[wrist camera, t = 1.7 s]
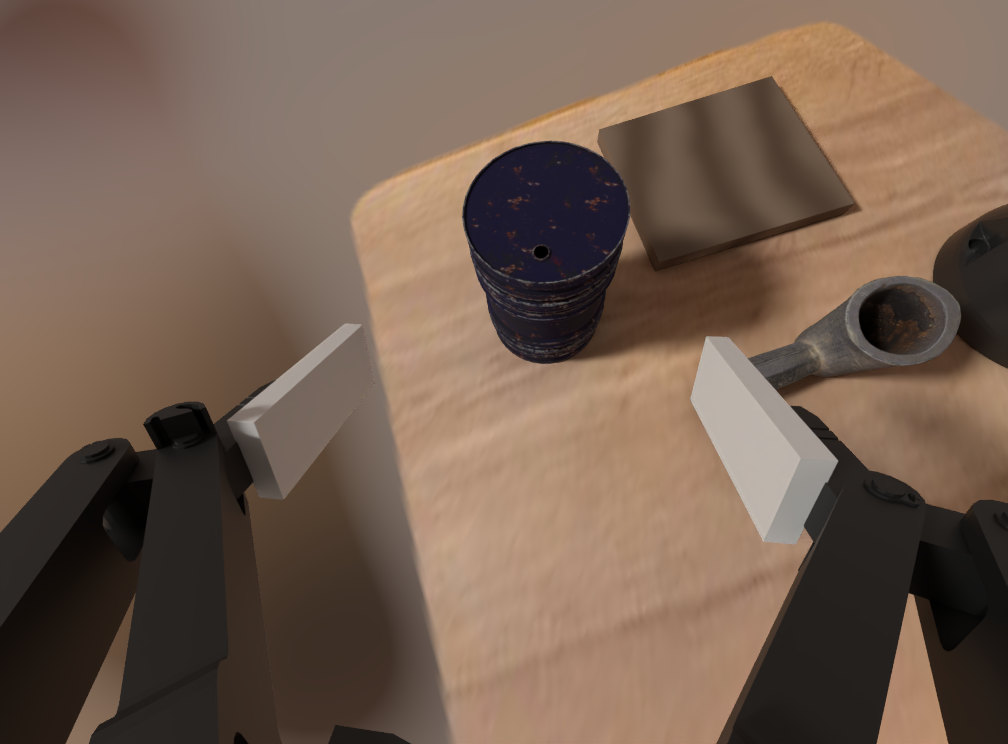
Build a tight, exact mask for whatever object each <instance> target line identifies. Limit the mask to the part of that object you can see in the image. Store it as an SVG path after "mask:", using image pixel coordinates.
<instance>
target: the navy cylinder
mask: <svg viewBox="0 0 1008 744" xmlns="http://www.w3.org/2000/svg"><path fill="white" fill-rule="evenodd" d="M629 217H630V199H629V195H628V191H627V187H626V185H625V183H624V181H623V179H622V177H621V176H620V174H619V173H618V172H617V170H616V169H615V168H614V167H613V166H612V165H611V164H610V163H609V162H608V161H607V160H606V159H605V158H603V157H602V156H600V155H599V154H597V153H596V152H594V151H592V150H590V149H588V148H585V147H582V146H579V145H576V144H573V143H567V142H562V141H540V142H533V143H528V144H524V145H521V146H518V147H515V148H512V149H510V150H508V151H506V152H504V153H502V154H501V155H499V156H498V157H496V158H494V159H493V160H492V161H490V162H489V163H488V164H487V165H486V166H485V167H484V168H483V169H482V170H481V171H480V172H479V173H478V175H477V176H476V177H475V179H474V180H473V182H472V183H471V185H470V187H469V189H468V192H467V194H466V196H465V201H464V205H463V216H462V219H463V226H464V231H465V234H466V237H467V240H468V243H469V248H470V255H471V258H472V261H473V264H474V267H475V270H476V274H477V277H478V280H479V282H480V284H481V286H482V288H483V290H484V291H485V292H486V298H487V303H488V310H489V313H490V317H491V320H492V323H493V325H494V327H495V329H496V331H497V334H498V336H499V338H500V340H501V341H502V343H503V344H504V345H505V347H506V348H507V349H508V350H510V351H511V352H512V353H513V354H515V355H516V356H518V357H520V358H522V359H524V360H526V361H530V362H533V363H540V364H551V363H557V362H561V361H564V360H567V359H569V358H571V357H573V356H574V355H576V354H577V353H579V352H580V351H581V350H582V349H583V348H584V347H585V346H586V345H587V344H588V342H589V341H590V340H591V338H592V336H593V334H594V332H595V329H596V327H597V325H598V323H599V321H600V317H601V314H602V311H603V307H604V300H605V294H606V289H607V288H608V286H609V285H610V283H611V281H612V279H613V277H614V274H615V270H616V267H617V264H618V261H619V257H620V254H621V251H622V246H623V239H624V236H625V233H626V230H627V226H628V223H629Z"/></svg>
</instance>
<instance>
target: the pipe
mask: <svg viewBox="0 0 1008 744" xmlns="http://www.w3.org/2000/svg"><path fill="white" fill-rule="evenodd" d="M960 320H961V312H960V305H959V304H958V301H956V299H955V298H954V297H953V295H951V294H950V293H949V292H948V291H947V290H946V289H944V288H942V287H940V286H939V285H937V284H935V283H933V282H930V281H927V280H925V279H922V278H918V277H909V276H895V277H888V278H880V279H876V280H873V281H871V282H869V283H867V284H865V285H863V286H862V287H860V288H859V289H857V291H856V292H855V293H854V294H853V295H852V296H851V297H850V298H849V299H848V300H846V301H845V302H844V303H842V304H841V305H840V306H838V307H837V308H836V309H835V310H833V311H832V312H830V313H829V314H828V315H826V316H825V317H824V318H822V319H821V320H820V321H818V322H817V323H815V324H814V325H812V326H810V327H809V328H807V329H806V330H804V331H803V332H802V333H801V334H800V335H799V336H798V337H797V338H796V340H795V342H794V343H793V344H790V345H787V346H784V347H781V348H778V349H775V350H772V351H769V352H766V353H763V354H760V355H757V356H754V357H751V358H748V360H749V361H750V362H751V363H752V364H753V365H754V366H755V367H756V369H757V370H758V371H759V372H760V373H761V374H762V375H763V376H764V378H765V379H766V380H767V381H768V382H769V383H770V384H771V385H772V387H773V388H774V389H775V390H776V389H779V388H781V387H783V386H786V385H789V384H791V383H793V382H796V381H798V380H800V379H802V378H804V377H806V376H808V375H810V374H811V375H814V376H820V377H832V376H837V375H843V374H849V373H855V372H861V371H867V370H874V369H881V368H889V367H897V366H910V365H915V364H920V363H923V362H926V361H929V360H931V359H933V358H935V357H937V356H939V355H940V354H941V353H942V352H943V351H944V350H945V349H946V348H947V347H948V346H949V345H950V344H951V343H952V341H953V339H954V337H955V335H956V333H957V331H958V327H959V324H960Z"/></svg>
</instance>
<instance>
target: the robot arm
mask: <svg viewBox="0 0 1008 744" xmlns="http://www.w3.org/2000/svg"><path fill="white" fill-rule="evenodd" d="M933 283H935V284H937V285H939V286H940V287H942V288H944V289H946V290H947V291H948V292H949V293H950V294H951V295H953V297H954V298H955V299H956V301H958V304H959V305H960V312H961V320H960V324H959V327H958V331H957V333H958V334H959V335H960V336H961V337H962V338H963V339H964V340H965V341H966V342H967V343H968V344H970V345H971V346H972V347H973V348H974V349H976V350H977V351H978V352H980V353H981V354H983V355H984V356H986V357H987V358H989V359H991V360H992V361H994V362H996V363H998V364H1000V365H1002V366H1004V367H1006V368H1008V204H1006V205H1003V206H1001V207H998V208H996V209H994V210H992V211H990V212H988V213H986V214H984V215H982V216H981V217H979V218H977V219H976V220H974V221H973V222H971V223H969V224H968V225H966V226H965V227H963V228H961V229H960V230H958V231H957V232H955V233H954V234H953V235H952V236H951V237H950V238H949V239H948V240H947V241H946V242H945V243H944V245H943V246H942V248H941V249H940V251H939V253H938V255H937V258H936V261H935V264H934V270H933ZM374 384H375V383H374V377H373V373H372V367H371V362H370V357H369V352H368V347H367V342H366V337H365V332H364V327H363V324H344V325H343V326H342V327H340V328H339V329H338V330H337V331H335V332H334V333H333V334H332V335H331V336H329V337H328V338H327V339H326V340H325V341H323V342H322V343H321V344H320V345H318V346H317V347H316V348H315V349H314V350H312V351H311V352H310V353H309V354H307V355H306V356H305V357H304V358H303V359H301V360H300V361H299V362H298V363H296V364H295V365H294V366H293V367H292V368H291V369H289V370H288V371H287V372H285V373H284V374H283V375H282V376H281V377H279V378H278V379H277V380H274V381H272V382H270V383H268V384H266V385H264V386H262V387H260V388H258V389H257V390H256V391H255V392H253V393H252V394H251V395H250V396H249V398H246V399H245V400H243V401H242V402H241V403H240V405H239V406H236V407H235V408H233V409H232V410H231V411H230V412H228V413H227V414H226V415H225V416H223V417H222V418H221V419H220V420H219V421H217V422H216V423H215V424H213V422H212V420H211V419H210V416H209V413H208V411H207V409H206V407H205V405H204V404H203V403H200V402H184V403H179V404H175V405H172V406H169V407H166V408H164V409H162V410H159V411H158V412H155V413H154V414H153V415H151V416H150V417H149V418H147V419H146V421H145V422H144V424H143V425H144V427H145V428H146V430H147V432H148V434H149V436H150V437H151V439H152V441H153V443H154V445H155V446H156V448H157V449H154V450H147V451H140V452H135V451H134V449H133V447H132V446H131V444H130V442H129V441H128V440H127V439H123V438H113V439H107V440H103V441H97V442H94V443H92V444H89V445H86V446H84V447H83V448H82V449H80V450H79V451H76V452H75V453H73V454H72V455H70V456H69V457H68V458H67V459H66V460H65V461H64V462H63V463H62V464H61V465H60V466H59V467H58V469H57V470H56V471H55V472H54V473H53V474H52V475H51V476H50V478H49V479H48V480H47V481H46V482H45V483H44V484H43V485H42V487H41V488H40V489H39V490H38V491H37V492H36V493H35V494H34V496H33V497H32V498H31V499H30V500H29V501H28V502H27V503H26V505H25V506H24V507H23V508H22V509H21V510H20V511H19V512H18V514H17V515H16V516H15V517H14V518H13V519H12V520H11V521H10V523H9V524H8V525H7V526H6V527H5V528H4V529H3V530H2V532H1V533H0V744H65V743H66V741H67V739H68V737H69V735H70V733H71V731H72V729H73V726H74V724H75V722H76V720H77V718H78V716H79V713H80V711H81V709H82V707H83V705H84V703H85V700H86V698H87V696H88V694H89V692H90V689H91V688H92V685H93V683H94V681H95V678H96V677H97V675H98V672H99V670H100V668H101V666H102V664H103V662H104V659H105V657H106V655H107V653H108V651H109V649H110V646H111V644H112V642H113V640H114V638H115V636H116V633H117V631H118V629H119V627H120V625H121V623H122V621H123V618H124V616H125V614H126V612H127V610H128V608H129V606H130V603H131V601H132V599H133V597H134V594H135V593H136V596H135V602H134V609H133V616H132V622H131V629H130V635H129V642H128V649H127V656H126V662H125V668H124V675H123V683H122V689H121V695H120V701H119V706H118V710H117V714H116V715H115V717H113V718H111V719H109V720H107V721H105V722H104V723H102V724H100V725H99V726H98V727H97V728H96V730H95V731H94V733H93V734H92V736H91V739H90V742H89V744H282V743H281V740H280V736H279V731H278V725H277V719H276V711H275V703H274V696H273V689H272V680H271V672H270V666H269V658H268V650H267V642H266V634H265V627H264V619H263V611H262V604H261V596H260V589H259V581H258V573H257V566H256V559H255V550H254V543H253V535H252V528H251V520H250V512H249V505H248V500H247V498H246V495H245V493H244V492H245V490H246V489H247V488H248V487H249V486H250V485H251V484H252V483H254V486H255V488H256V490H257V493H258V495H259V497H262V498H274V499H284V498H285V497H286V496H287V495H288V494H289V492H290V491H291V490H292V488H293V487H294V486H295V485H296V483H297V482H298V481H299V479H300V478H301V477H302V476H303V474H304V473H305V472H306V470H307V469H308V468H309V467H310V465H311V464H312V463H313V462H314V460H315V459H316V458H317V456H318V455H319V454H320V453H321V451H322V450H323V449H324V448H325V446H326V445H327V444H328V442H329V441H330V440H331V439H332V437H333V436H334V435H335V433H336V432H337V431H338V430H339V428H340V427H341V426H342V425H343V423H344V422H345V421H346V419H347V418H348V417H349V415H350V414H351V413H352V412H353V411H354V409H355V408H356V407H357V405H358V404H359V403H360V402H361V400H362V399H363V398H364V396H365V395H366V394H367V393H368V391H369V390H370V389H371V388H372V386H373V385H374ZM690 400H691V402H692V404H693V406H694V408H695V410H696V412H697V414H698V416H699V418H700V420H701V421H702V423H703V425H704V427H705V429H706V431H707V433H708V435H709V437H710V439H711V441H712V443H713V445H714V447H715V449H716V451H717V452H718V454H719V456H720V458H721V460H722V462H723V464H724V466H725V468H726V470H727V472H728V474H729V476H730V478H731V480H732V481H733V483H734V485H735V487H736V489H737V491H738V493H739V495H740V497H741V499H742V501H743V503H744V505H745V507H746V509H747V510H748V512H749V514H750V516H751V518H752V520H753V522H754V524H755V526H756V528H757V530H758V532H759V534H760V536H761V538H762V540H763V541H764V542H774V543H786V544H796V543H797V541H798V539H799V537H800V535H801V533H802V531H803V529H804V527H805V529H806V530H807V532H808V534H809V535H810V537H811V538H812V540H813V541H814V542H813V543H812V545H811V547H810V549H809V551H808V553H807V555H806V556H805V558H804V560H803V562H802V564H801V566H800V567H799V569H798V571H799V572H798V574H797V576H796V578H795V580H794V582H793V584H792V586H791V589H790V591H789V593H788V595H787V597H786V599H785V601H784V603H783V605H782V607H781V609H780V612H779V614H778V616H777V618H776V620H775V622H774V624H773V626H772V628H771V630H770V632H769V635H768V637H767V639H766V641H765V643H764V645H763V647H762V649H761V651H760V653H759V656H758V658H757V660H756V662H755V664H754V666H753V668H752V670H751V672H750V674H749V676H748V679H747V681H746V683H745V685H744V687H743V689H742V691H741V693H740V695H739V697H738V700H737V702H736V704H735V706H734V708H733V710H732V712H731V714H730V716H729V718H728V720H727V723H726V725H725V727H724V729H723V731H722V733H721V735H720V737H719V739H718V741H717V743H716V744H877V739H878V734H879V730H880V725H881V720H882V716H883V711H884V706H885V701H886V697H887V692H888V687H889V683H890V678H891V673H892V668H893V664H894V659H895V654H896V650H897V645H898V640H899V635H900V631H901V626H902V621H903V617H904V612H905V607H906V603H907V598H908V593H910V594H913V595H914V597H915V602H916V606H917V610H918V615H919V619H920V623H921V628H922V632H923V636H924V640H925V645H926V649H927V653H928V658H929V662H930V666H931V671H932V675H933V679H934V684H935V688H936V692H937V697H938V701H939V705H940V710H941V714H942V718H943V722H944V727H945V731H946V735H947V740H948V744H1008V503H1004V502H999V501H994V500H979V501H977V502H976V503H974V504H973V505H972V506H971V508H970V509H969V510H968V511H967V513H966V514H963V513H959V512H955V511H951V510H948V509H944V508H940V507H936V506H932V505H928V504H925V500H924V499H923V498H922V497H921V496H920V494H919V493H918V492H917V491H916V490H914V489H913V488H911V487H910V486H908V485H907V484H906V483H904V482H902V481H900V480H898V479H895V478H893V477H891V476H888V475H885V474H882V473H879V472H874V471H869V470H868V469H867V468H866V467H865V466H864V465H863V464H862V463H861V462H860V460H859V459H858V458H857V457H856V456H855V455H854V454H853V453H852V452H851V451H850V450H849V449H848V448H847V447H846V446H845V445H844V444H843V443H842V442H841V441H838V437H837V436H836V435H835V434H834V433H833V432H832V431H829V428H828V427H827V426H826V425H825V424H824V423H823V422H822V421H821V420H820V419H819V418H818V417H817V416H815V415H814V414H812V413H811V412H809V411H807V410H806V409H804V408H802V407H801V406H789V405H788V403H787V402H786V401H785V400H784V399H783V398H782V397H781V396H780V394H779V393H778V392H777V391H776V390H775V389H774V388H773V387H772V385H771V384H770V383H769V382H768V381H767V380H766V379H765V378H764V376H763V375H762V374H761V373H760V372H759V371H758V370H757V369H756V367H755V366H754V365H753V364H752V363H751V362H750V361H749V360H748V358H747V357H746V356H745V355H744V354H743V353H742V352H741V351H740V349H739V348H738V347H737V346H736V345H735V344H734V343H733V342H732V340H731V339H730V338H729V337H713V336H706V339H705V343H704V347H703V351H702V355H701V359H700V363H699V367H698V371H697V375H696V379H695V383H694V387H693V391H692V395H691V399H690ZM328 744H410V743H409V742H407V741H405V740H403V739H401V738H399V737H398V736H396V735H394V734H390V733H384V732H376V731H370V730H364V729H357V728H351V727H344V726H338V725H336V726H335V728H334V731H333V733H332V736H331V738H330V741H329V743H328Z"/></svg>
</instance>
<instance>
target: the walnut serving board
mask: <svg viewBox="0 0 1008 744" xmlns="http://www.w3.org/2000/svg"><path fill="white" fill-rule="evenodd" d="M597 142H598V144H599V146H600V149H601V151H602V153H603V155H604V158H605V159H606V160H607V161H608V162H609V163H610V164H611V165H612V166H613V167H614V168H615V169H616V170H617V172H618V173H619V174H620V176H621V177H622V179H623V181H624V183H625V185H626V187H627V191H628V195H629V199H630V216H631V218H632V220H633V222H634V225H635V227H636V229H637V231H638V234H639V236H640V238H641V240H642V243H643V245H644V247H645V249H646V251H647V254H648V256H649V258H650V260H651V263H652V265H653V267H654V269H655V271H656V270H659V269H663V268H666V267H669V266H673V265H676V264H679V263H683V262H686V261H689V260H693V259H696V258H699V257H703V256H706V255H709V254H712V253H716V252H719V251H722V250H726V249H729V248H732V247H736V246H739V245H742V244H746V243H749V242H752V241H756V240H759V239H762V238H765V237H769V236H772V235H775V234H779V233H782V232H785V231H789V230H792V229H795V228H799V227H802V226H805V225H809V224H812V223H815V222H818V221H822V220H825V219H828V218H832V217H835V216H838V215H842V214H844V213H845V212H846V211H847V210H848V209H849V208H850V207H851V206H852V205H853V204H855V203H854V201H853V199H852V198H851V196H850V195H849V193H848V192H847V190H846V189H845V187H844V186H843V184H842V183H841V181H840V180H839V178H838V177H837V175H836V174H835V172H834V170H833V169H832V167H831V166H830V164H829V163H828V161H827V160H826V158H825V157H824V155H823V154H822V152H821V151H820V149H819V148H818V146H817V145H816V143H815V141H814V140H813V138H812V137H811V135H810V134H809V132H808V131H807V129H806V128H805V126H804V125H803V123H802V122H801V120H800V119H799V117H798V116H797V114H796V112H795V111H794V109H793V108H792V106H791V105H790V103H789V102H788V100H787V99H786V97H785V96H784V94H783V93H782V91H781V90H780V88H779V87H778V85H777V83H776V82H775V80H774V79H773V77H772V76H771V77H768V78H764V79H761V80H758V81H755V82H751V83H748V84H745V85H742V86H739V87H735V88H732V89H729V90H726V91H722V92H719V93H716V94H713V95H709V96H706V97H703V98H700V99H697V100H693V101H690V102H687V103H684V104H680V105H677V106H674V107H671V108H667V109H664V110H661V111H658V112H655V113H651V114H648V115H645V116H642V117H638V118H635V119H632V120H629V121H625V122H622V123H619V124H616V125H613V126H609V127H606V128H603V129H600V130H599V135H598V141H597Z"/></svg>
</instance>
